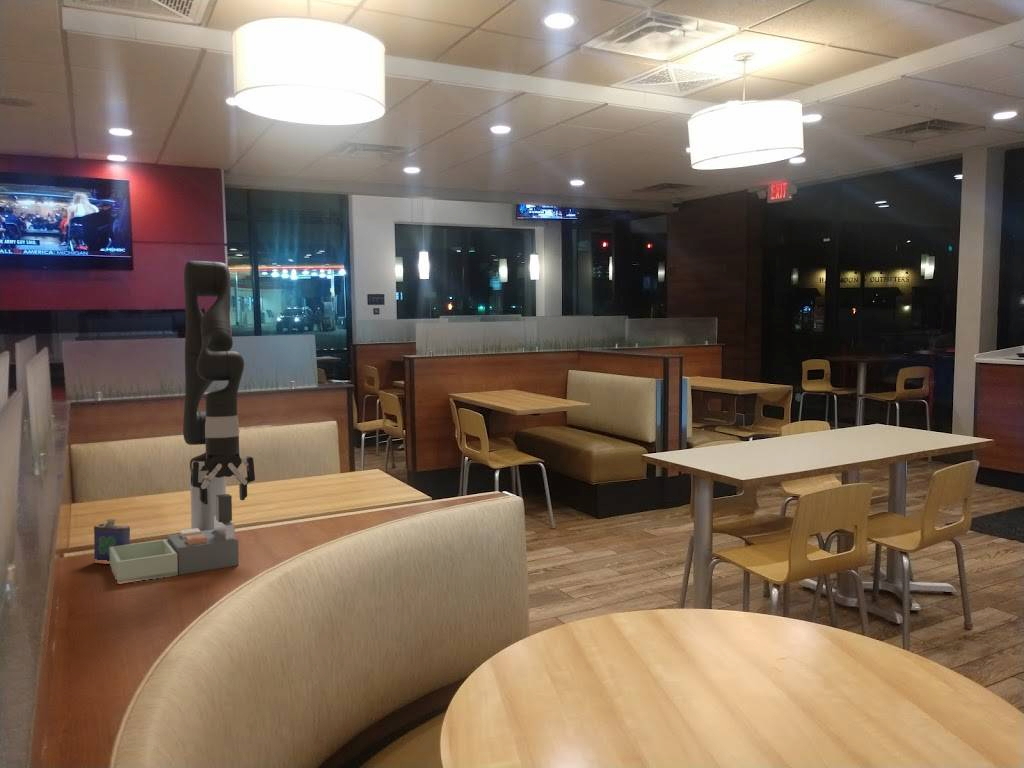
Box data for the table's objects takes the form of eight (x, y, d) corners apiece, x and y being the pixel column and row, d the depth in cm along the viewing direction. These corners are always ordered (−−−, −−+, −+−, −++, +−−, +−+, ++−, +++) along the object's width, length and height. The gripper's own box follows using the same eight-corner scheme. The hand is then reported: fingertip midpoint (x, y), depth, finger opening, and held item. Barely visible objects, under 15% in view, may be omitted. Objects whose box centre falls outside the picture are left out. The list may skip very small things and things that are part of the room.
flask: (133, 562, 177) (131, 518, 177) (124, 566, 175) (122, 521, 174) (99, 560, 179) (98, 516, 179) (90, 564, 176) (88, 519, 176)
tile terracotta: (185, 541, 174) (185, 536, 174) (203, 538, 176) (203, 533, 176) (188, 545, 170) (188, 539, 170) (207, 542, 172) (207, 537, 172)
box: (110, 568, 173) (109, 546, 173) (166, 559, 180) (165, 539, 180) (117, 585, 161) (117, 562, 160) (177, 575, 167) (177, 553, 167)
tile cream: (179, 535, 179) (179, 530, 179) (197, 532, 182) (197, 528, 182) (183, 538, 176) (182, 533, 176) (201, 536, 178) (200, 531, 178)
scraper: (212, 530, 184) (211, 492, 183) (224, 528, 186) (224, 490, 185) (223, 540, 174) (222, 500, 174) (237, 538, 176) (236, 498, 175)
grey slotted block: (168, 560, 180) (167, 535, 179) (224, 551, 187) (224, 528, 186) (178, 574, 168) (178, 548, 168) (238, 565, 175) (238, 539, 175)
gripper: (248, 431, 186) (250, 496, 186) (187, 435, 178) (188, 503, 178) (256, 434, 180) (258, 501, 180) (193, 438, 172) (195, 508, 172)
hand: (223, 501), depth 179 cm, fingers open, 8 cm apart
